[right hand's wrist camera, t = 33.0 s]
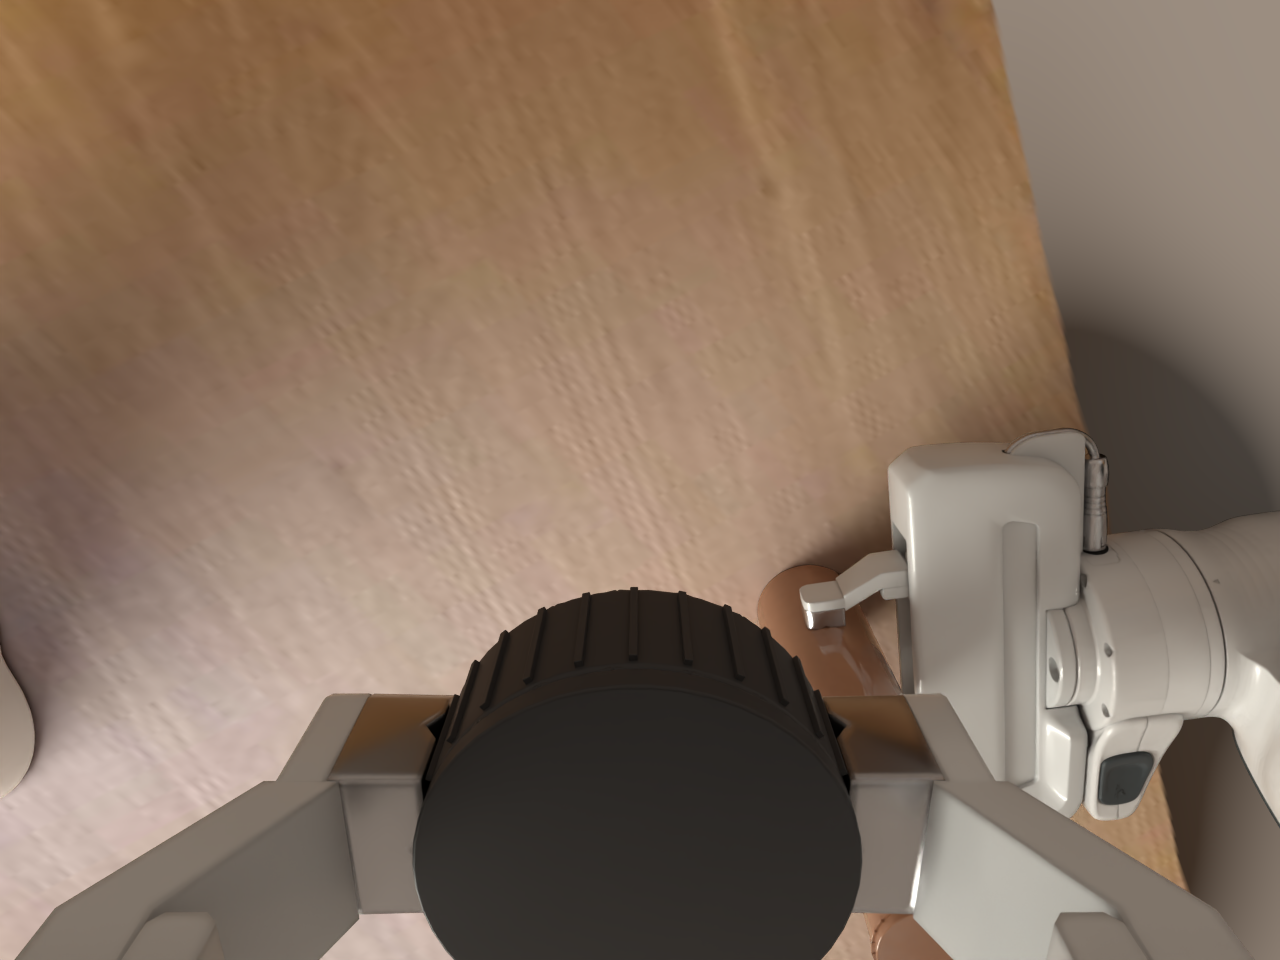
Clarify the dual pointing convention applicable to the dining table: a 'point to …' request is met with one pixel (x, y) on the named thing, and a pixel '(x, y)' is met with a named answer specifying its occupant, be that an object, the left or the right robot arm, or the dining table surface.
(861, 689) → the bottle
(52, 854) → the dining table surface
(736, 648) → the cap
